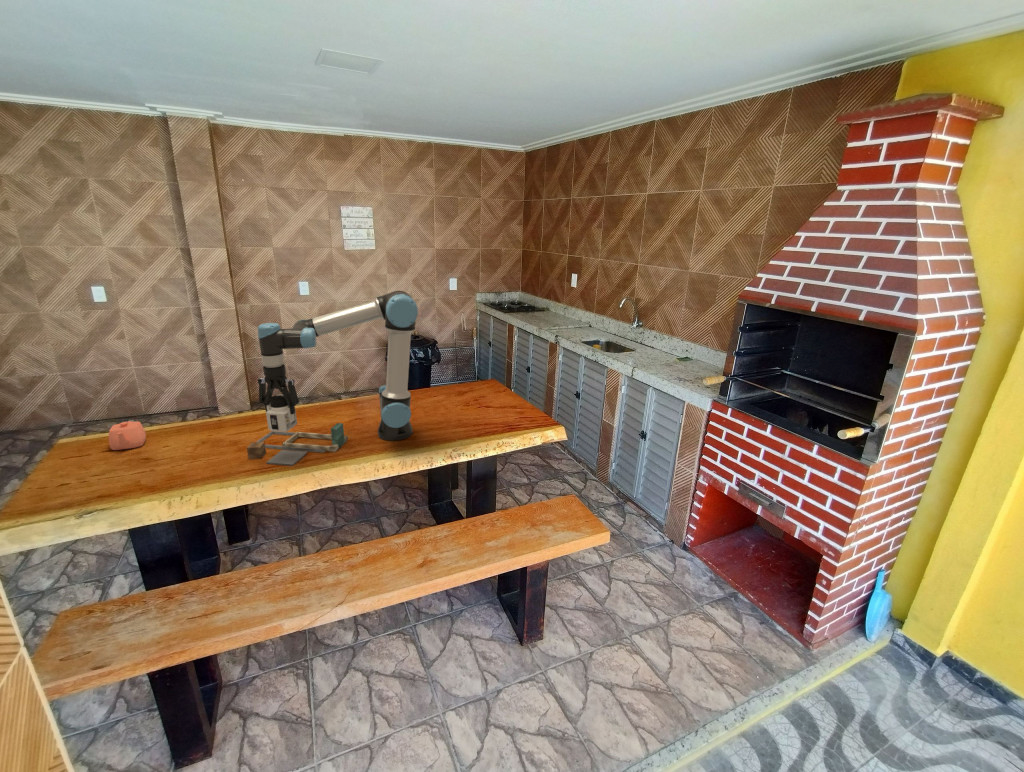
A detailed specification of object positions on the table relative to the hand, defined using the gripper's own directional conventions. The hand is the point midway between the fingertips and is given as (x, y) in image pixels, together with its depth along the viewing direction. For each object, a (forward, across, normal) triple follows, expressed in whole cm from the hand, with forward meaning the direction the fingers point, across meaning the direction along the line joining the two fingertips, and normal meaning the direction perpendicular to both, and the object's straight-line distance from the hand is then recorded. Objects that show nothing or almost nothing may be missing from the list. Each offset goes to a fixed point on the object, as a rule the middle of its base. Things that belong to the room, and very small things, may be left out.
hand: (281, 420), depth 192 cm
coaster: (+16, 0, 0) cm, 16 cm away
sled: (+16, -5, -14) cm, 22 cm away
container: (+3, 0, 0) cm, 3 cm away
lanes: (+16, +3, -14) cm, 22 cm away
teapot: (+17, +70, +1) cm, 72 cm away
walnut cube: (+17, +13, 0) cm, 21 cm away
